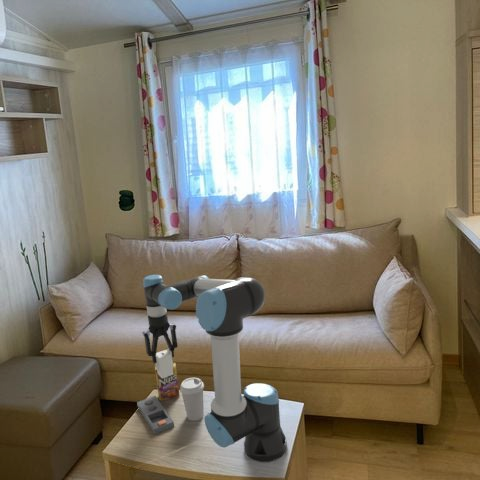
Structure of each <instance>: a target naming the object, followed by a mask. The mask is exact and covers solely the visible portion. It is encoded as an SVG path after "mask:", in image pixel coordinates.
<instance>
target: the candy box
mask: <svg viewBox="0 0 480 480" xmlns="http://www.w3.org/2000/svg"><path fill="white" fill-rule="evenodd" d="M172 367H173V375H171V376H168V377H165V378H161V377H160V376H159V375H158V373H157V369H156V365H155V364H154V371H155V372H154V373H155V380H156V387H157V394H158V400H159V402H161V401H166V400H170V399H175V398H176V399H177V398H180V386H179V381H178V372H177V371H178V370H177V366H176V361H173V366H172Z"/></svg>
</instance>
